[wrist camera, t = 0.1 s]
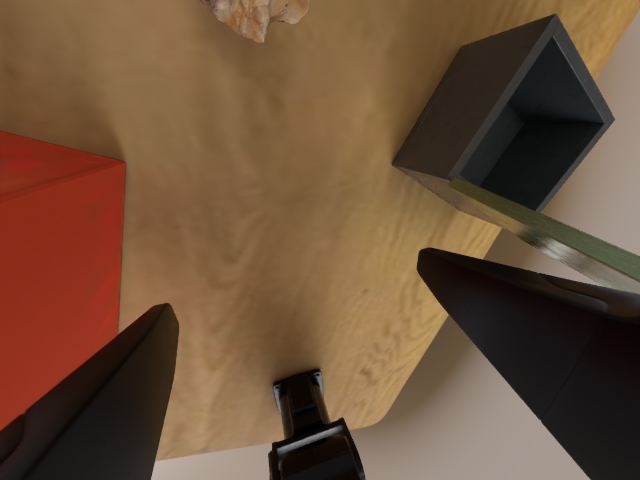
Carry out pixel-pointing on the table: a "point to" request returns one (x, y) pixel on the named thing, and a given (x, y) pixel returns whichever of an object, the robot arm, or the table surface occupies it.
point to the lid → (558, 239)
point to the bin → (508, 119)
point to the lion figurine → (256, 14)
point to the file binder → (55, 264)
